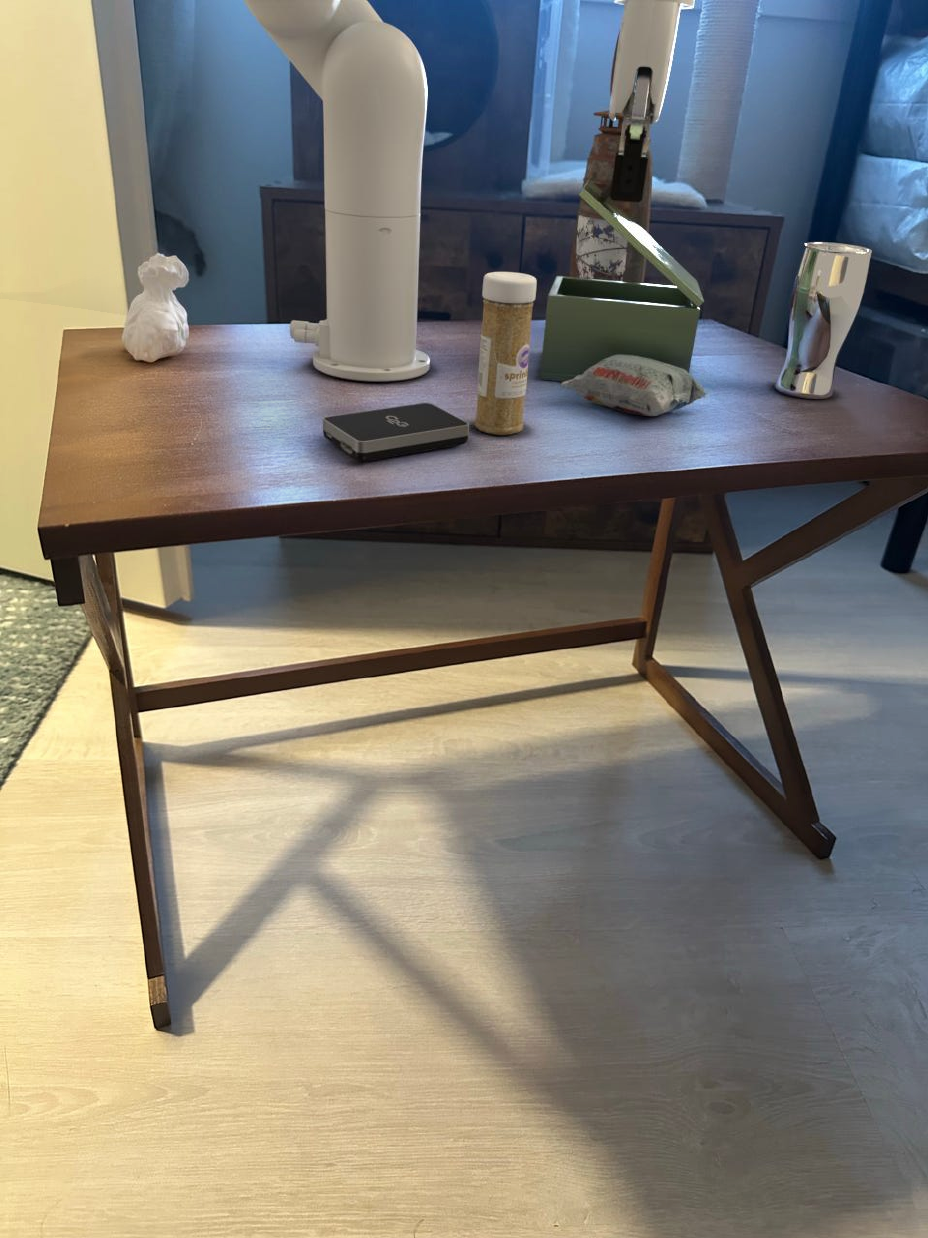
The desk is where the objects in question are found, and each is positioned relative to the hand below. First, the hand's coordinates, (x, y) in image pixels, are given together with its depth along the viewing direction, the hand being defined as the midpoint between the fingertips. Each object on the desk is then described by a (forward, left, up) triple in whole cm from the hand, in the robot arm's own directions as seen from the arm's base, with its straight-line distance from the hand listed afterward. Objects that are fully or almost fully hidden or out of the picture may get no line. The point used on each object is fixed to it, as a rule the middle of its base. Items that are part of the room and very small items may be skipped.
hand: (625, 195), depth 96 cm
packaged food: (+3, -14, -18) cm, 23 cm away
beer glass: (+22, 0, -18) cm, 29 cm away
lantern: (-1, +18, -18) cm, 26 cm away
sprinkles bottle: (-9, -24, -18) cm, 31 cm away
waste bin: (+1, 0, -18) cm, 18 cm away
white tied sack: (-47, -11, -18) cm, 52 cm away
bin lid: (+2, 0, -4) cm, 5 cm away
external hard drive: (-17, -31, -18) cm, 40 cm away
